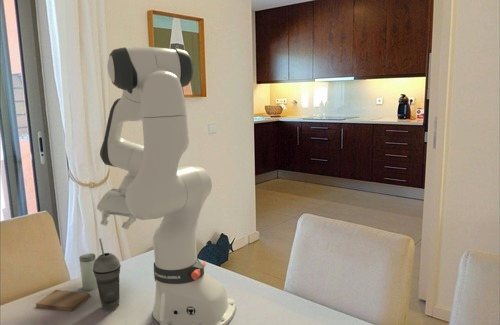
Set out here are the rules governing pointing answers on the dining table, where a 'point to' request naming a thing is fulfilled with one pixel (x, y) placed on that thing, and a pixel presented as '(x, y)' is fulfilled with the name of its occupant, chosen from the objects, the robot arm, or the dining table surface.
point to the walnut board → (63, 300)
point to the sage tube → (88, 271)
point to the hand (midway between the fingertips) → (113, 226)
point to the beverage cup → (107, 279)
